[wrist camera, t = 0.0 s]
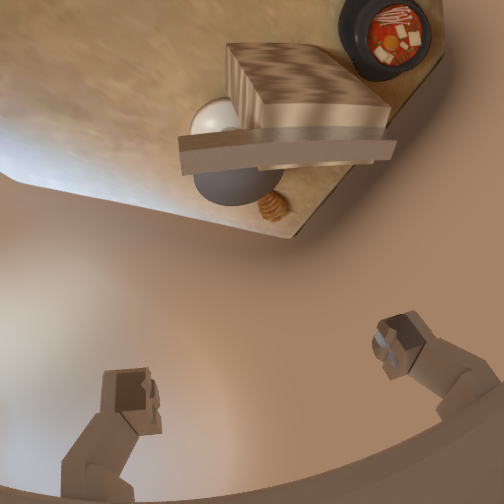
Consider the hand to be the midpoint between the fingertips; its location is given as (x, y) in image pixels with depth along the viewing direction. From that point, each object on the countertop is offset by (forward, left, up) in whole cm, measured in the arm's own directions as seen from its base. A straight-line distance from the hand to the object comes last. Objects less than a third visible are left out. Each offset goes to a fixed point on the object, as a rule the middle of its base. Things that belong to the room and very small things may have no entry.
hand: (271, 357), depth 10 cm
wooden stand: (-3, +17, -52) cm, 55 cm away
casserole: (-24, +26, -52) cm, 63 cm away
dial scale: (+13, +20, -52) cm, 57 cm away
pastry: (+24, +43, -52) cm, 72 cm away
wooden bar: (0, +14, -26) cm, 29 cm away
